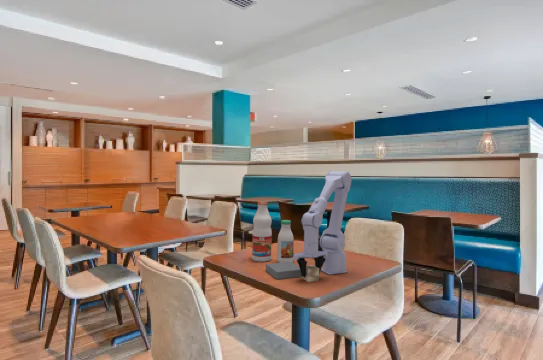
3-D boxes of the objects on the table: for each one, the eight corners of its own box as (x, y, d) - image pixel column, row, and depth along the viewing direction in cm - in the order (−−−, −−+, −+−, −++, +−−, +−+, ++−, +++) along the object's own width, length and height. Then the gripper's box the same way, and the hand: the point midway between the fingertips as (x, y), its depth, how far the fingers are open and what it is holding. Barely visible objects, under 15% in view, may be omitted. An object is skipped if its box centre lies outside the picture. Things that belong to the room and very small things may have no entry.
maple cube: (312, 276, 136) (312, 264, 136) (318, 280, 131) (319, 268, 131) (301, 278, 134) (302, 266, 134) (308, 282, 129) (308, 269, 129)
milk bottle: (274, 263, 155) (275, 221, 154) (280, 259, 162) (281, 218, 161) (290, 265, 152) (291, 222, 151) (295, 261, 159) (296, 220, 158)
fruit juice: (272, 257, 165) (273, 202, 164) (270, 262, 155) (271, 203, 155) (253, 256, 166) (254, 201, 165) (250, 261, 156) (251, 203, 156)
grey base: (290, 268, 147) (290, 261, 147) (303, 276, 136) (303, 269, 136) (265, 270, 142) (266, 264, 142) (277, 279, 131) (277, 272, 131)
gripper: (299, 245, 126) (299, 280, 126) (331, 243, 131) (331, 276, 132) (291, 241, 132) (291, 275, 132) (322, 239, 138) (321, 271, 138)
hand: (310, 275), depth 132 cm, fingers open, 6 cm apart
